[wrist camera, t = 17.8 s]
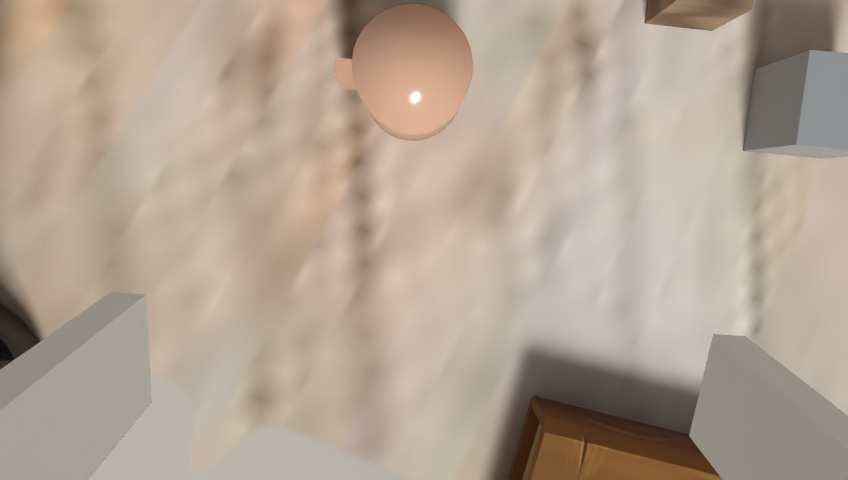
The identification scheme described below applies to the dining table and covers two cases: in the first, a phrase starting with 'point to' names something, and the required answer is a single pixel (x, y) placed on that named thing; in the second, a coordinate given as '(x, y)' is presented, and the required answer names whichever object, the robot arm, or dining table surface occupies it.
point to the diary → (602, 448)
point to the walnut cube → (695, 12)
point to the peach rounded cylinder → (409, 70)
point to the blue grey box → (800, 106)
